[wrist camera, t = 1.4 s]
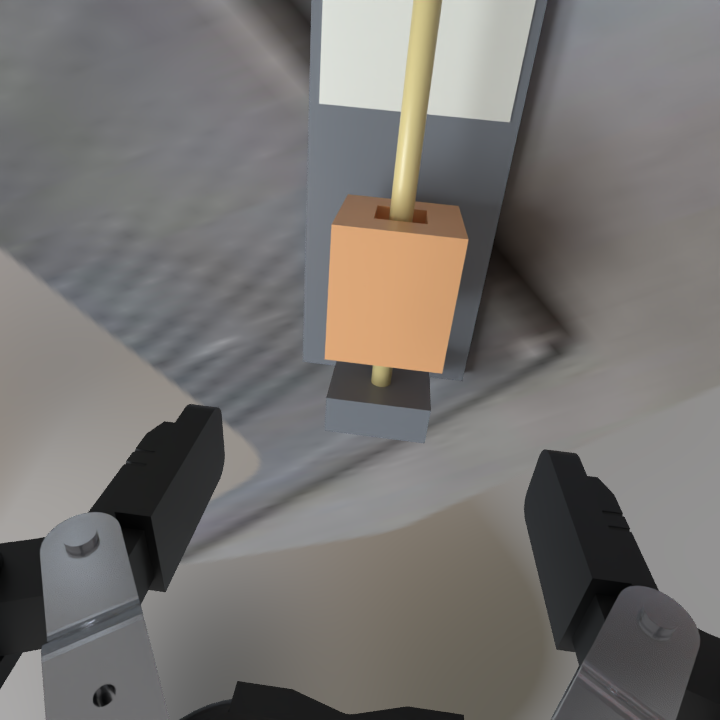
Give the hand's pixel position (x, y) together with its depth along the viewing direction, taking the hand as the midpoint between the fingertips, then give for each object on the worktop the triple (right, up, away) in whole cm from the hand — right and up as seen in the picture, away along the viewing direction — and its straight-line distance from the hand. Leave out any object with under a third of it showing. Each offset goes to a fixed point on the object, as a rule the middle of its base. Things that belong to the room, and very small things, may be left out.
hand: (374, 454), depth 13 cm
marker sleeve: (+1, +7, +12) cm, 14 cm away
